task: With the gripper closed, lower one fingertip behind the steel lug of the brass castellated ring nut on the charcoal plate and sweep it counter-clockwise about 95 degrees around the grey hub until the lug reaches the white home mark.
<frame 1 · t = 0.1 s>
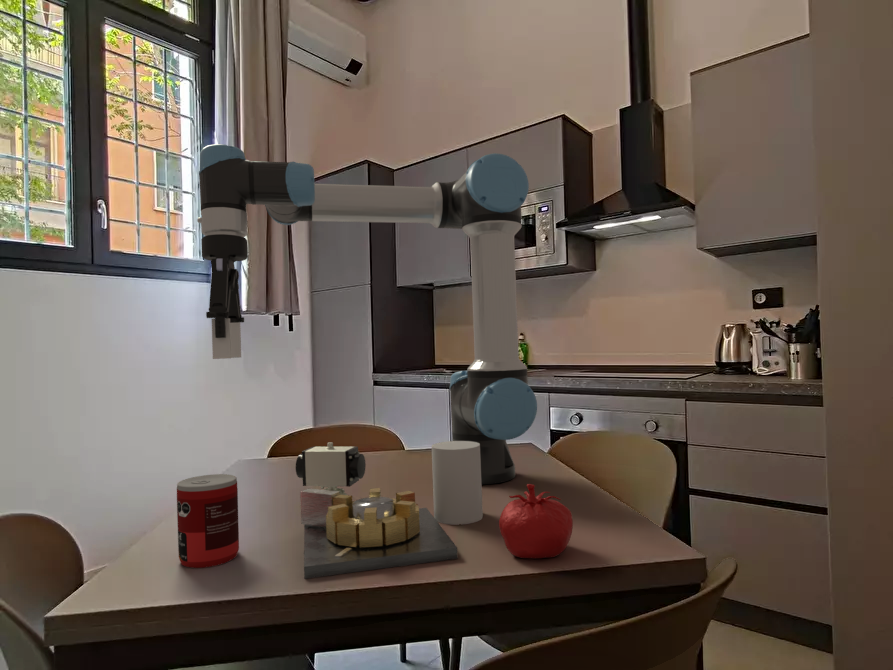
hand: (228, 358, 99), 28 cm above the table, fingers open, 13 cm apart
pneumatic valve: (333, 509, 103), on the table
base plate: (374, 543, 83), on the table
canned food: (209, 559, 80), on the table
white cylinder: (458, 518, 95), on the table
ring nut: (356, 511, 85), point 4 cm above the table, hinge at -40.0°
red tomato: (536, 553, 78), on the table
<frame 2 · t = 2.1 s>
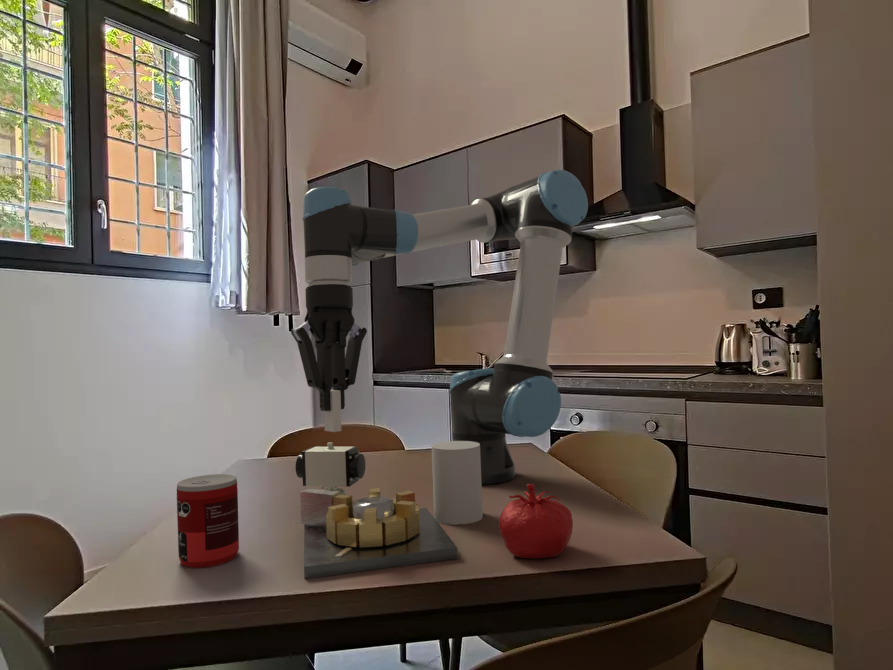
hand: (333, 430, 91), 16 cm above the table, fingers closed
nothing on the table moved.
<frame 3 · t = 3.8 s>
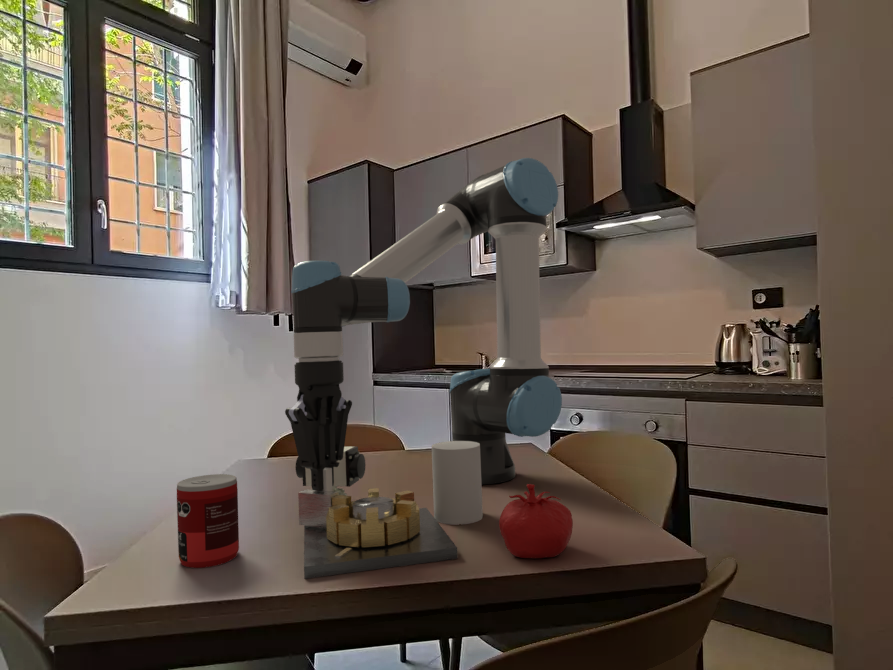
hand: (323, 509, 89), 4 cm above the table, fingers closed
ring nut: (355, 512, 85), point 4 cm above the table, hinge at -37.5°, touching gripper
everything else where it was.
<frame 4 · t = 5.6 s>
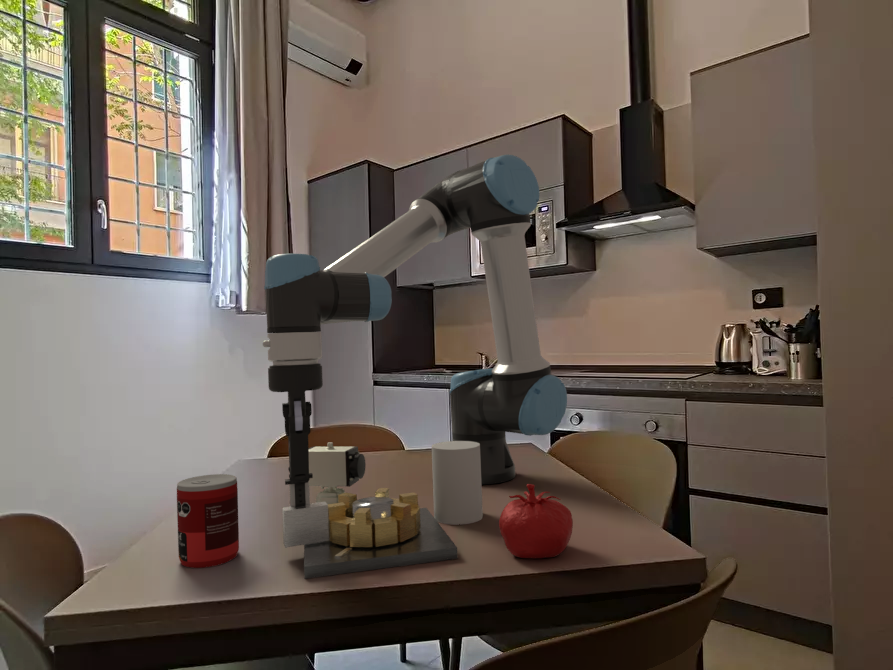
hand: (300, 527, 81), 3 cm above the table, fingers closed
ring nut: (353, 516, 82), point 4 cm above the table, hinge at 8.4°, touching gripper
everything else where it was.
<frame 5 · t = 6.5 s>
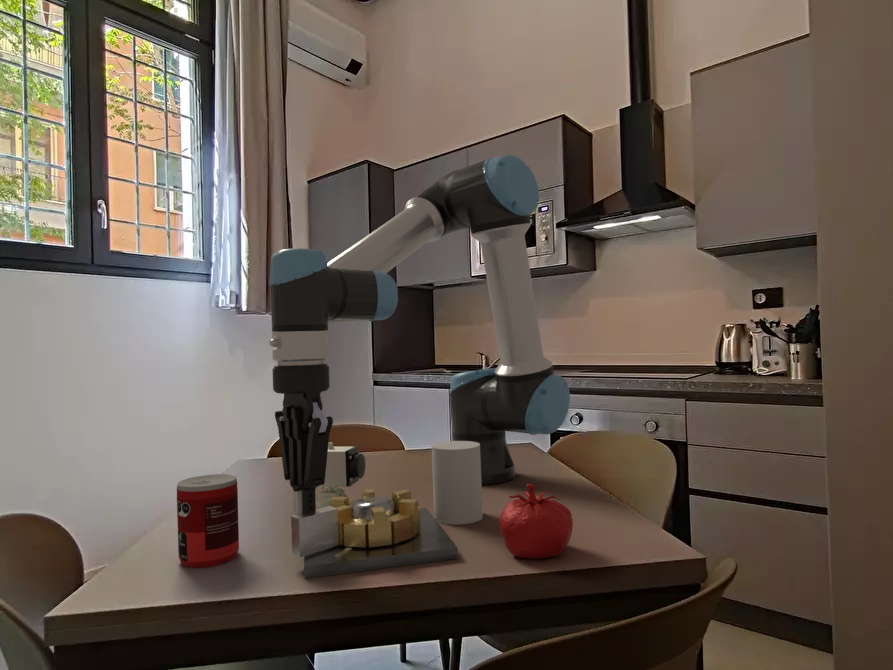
hand: (305, 535, 77), 3 cm above the table, fingers closed
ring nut: (356, 518, 81), point 4 cm above the table, hinge at 30.8°, touching gripper
everything else where it was.
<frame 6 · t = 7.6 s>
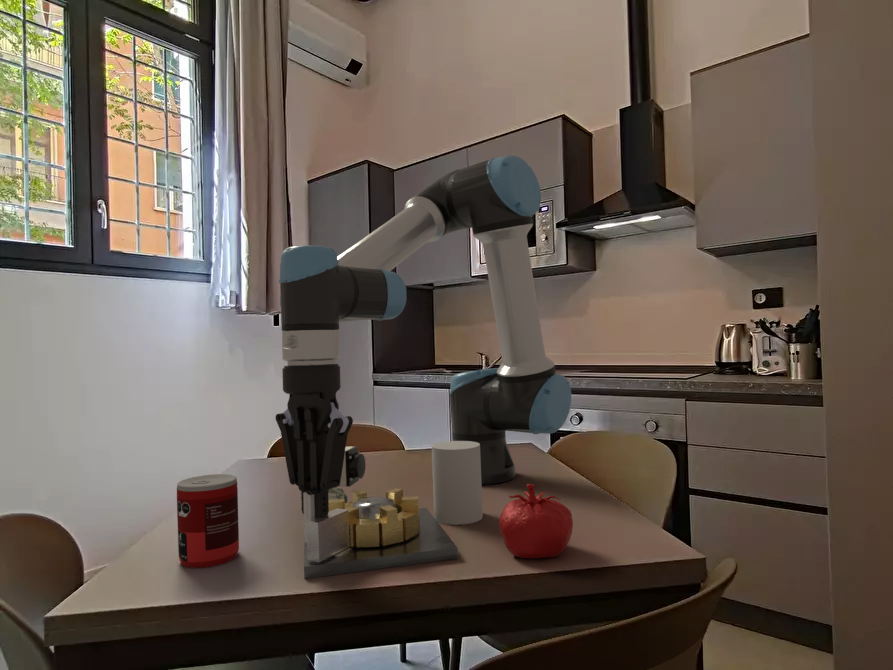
hand: (315, 539, 75), 3 cm above the table, fingers closed
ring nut: (360, 519, 81), point 4 cm above the table, hinge at 46.3°, touching gripper
everything else where it was.
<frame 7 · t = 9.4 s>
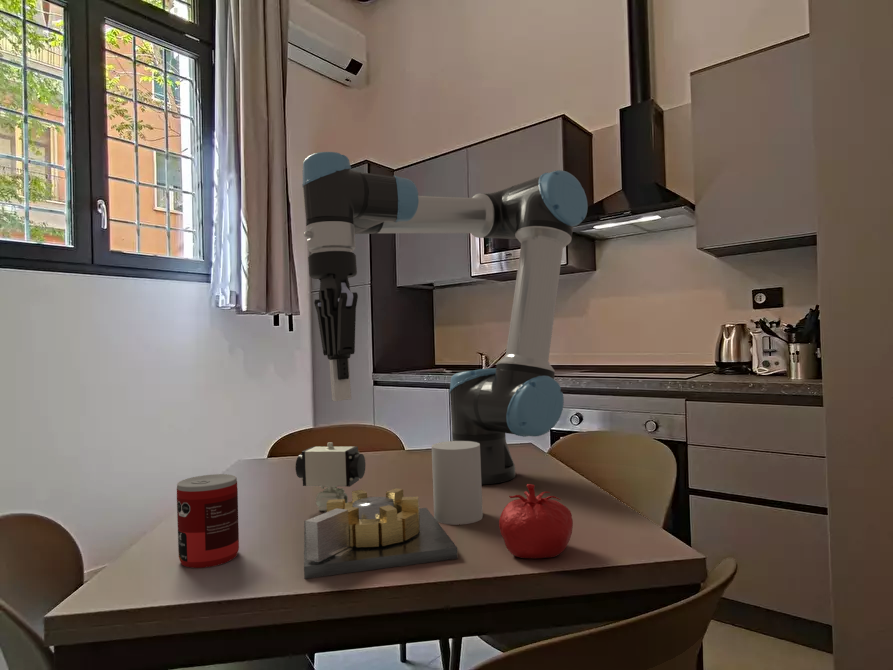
hand: (341, 399, 91), 21 cm above the table, fingers closed
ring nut: (360, 519, 81), point 4 cm above the table, hinge at 45.8°
everything else where it was.
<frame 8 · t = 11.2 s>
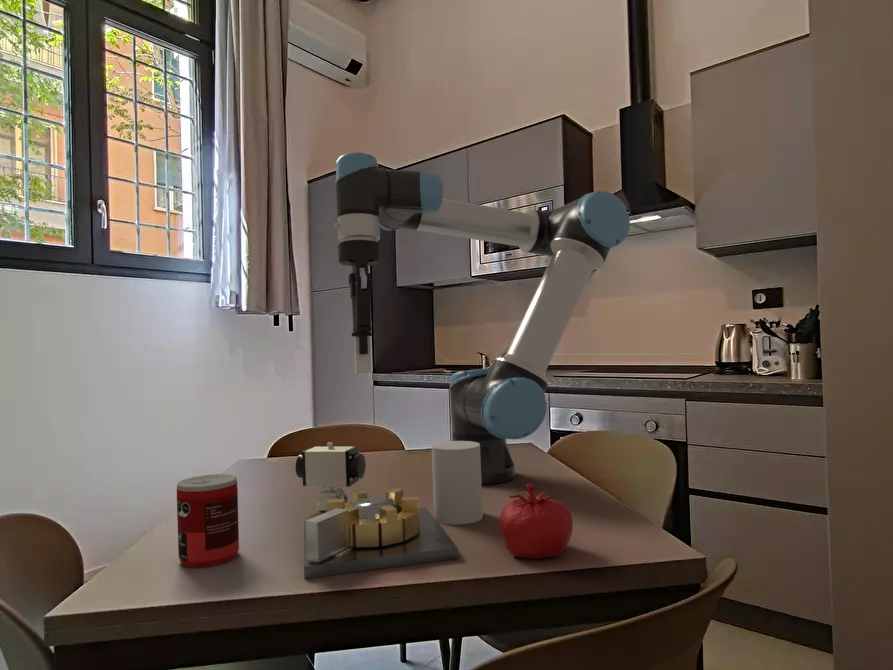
hand: (363, 372, 102), 24 cm above the table, fingers closed
nothing on the table moved.
at the end: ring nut at +46° (first picture: -40°) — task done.
